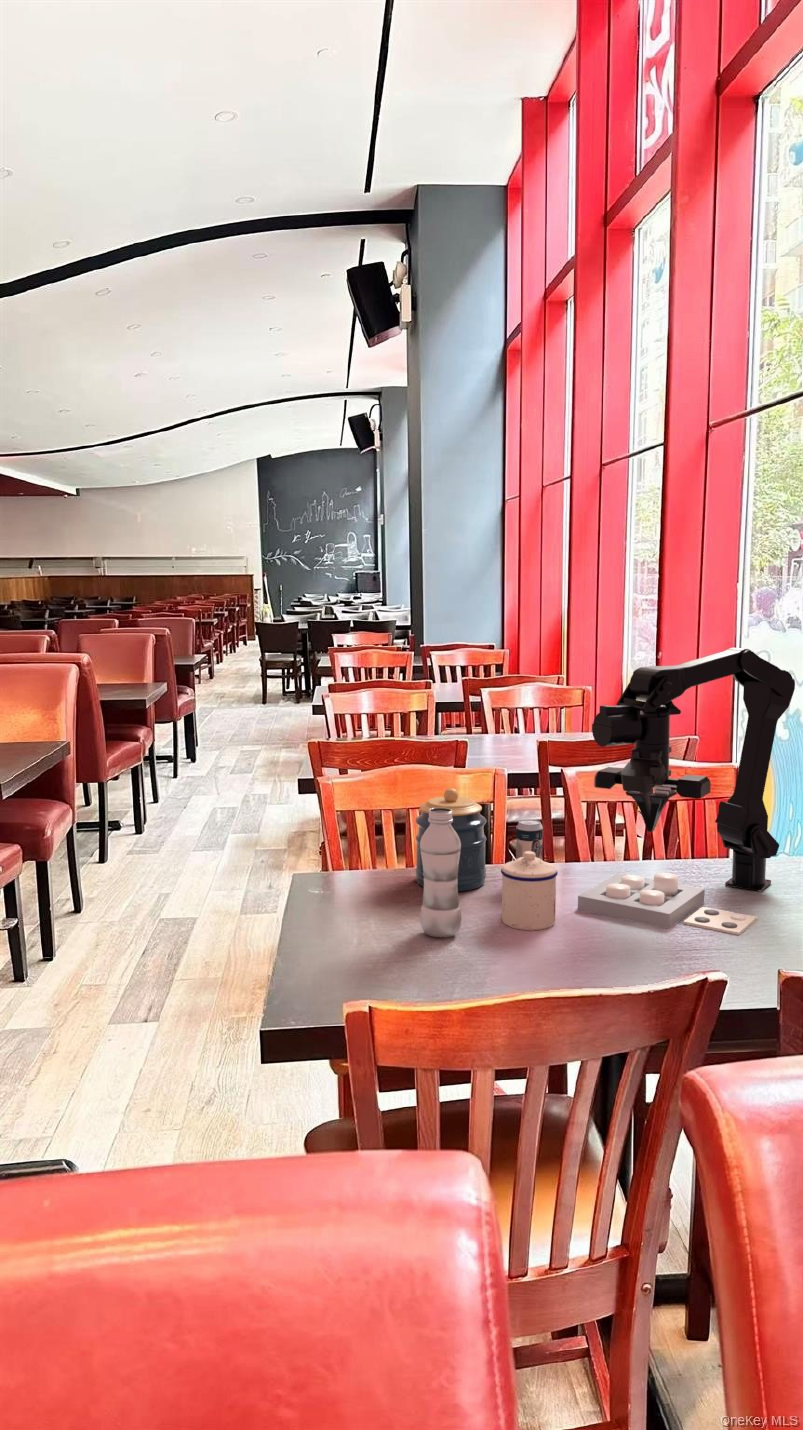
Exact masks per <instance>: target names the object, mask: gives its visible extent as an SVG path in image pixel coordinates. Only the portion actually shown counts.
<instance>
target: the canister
mask: <svg viewBox="0 0 803 1430" xmlns="http://www.w3.org/2000/svg"><path fill="white" fill-rule="evenodd" d="M443 793H444V794H443V796H437V797H435V796H434V797H432V798H429V799H428V800H427V801H426V802H424V803H423V804H421V805H420V807H419V809H420V811H422V812H421V814H419V815H418V816H417V817H416V818H415V823H416V825H417V826H418V832H417V835H416V836H415V840H416V868H415V877H416V880H417V884H418V885H419V886H421V887H422V888H424V875H423V863H422V856H421V849H420V841H421V837H422V836H423V834H424V832H425V831H426V830H427V828H428V827H429V826H430V823H429V822H428V818H429V810H430V809H432V808H449V809H451V810H452V818H453V822H452V823H451V826H452V827H453V829H454V830H455V831H456V833H457V835H458V836H459V839H460V842H461V850H460V858H459V865H458V877H457V879H458V882H457V888H458V892H466V891H471V890H476V889H479V888H481V887H482V886H483V885H484V884H485V883H486V877H487V868H486V841H487V837H486V835H485V832H484V826H485V825H486V823H487V819H486V817H485V816H483V815H482V814H481V812H482V809H483V807H482V805H480V804H479V803H478V802H475V800H474V799H472V798H470V797H466V796H459V793H458V791H457V790H456V789H455V788H451V787H450V788H447V789H445V791H444V792H443Z"/></svg>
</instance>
